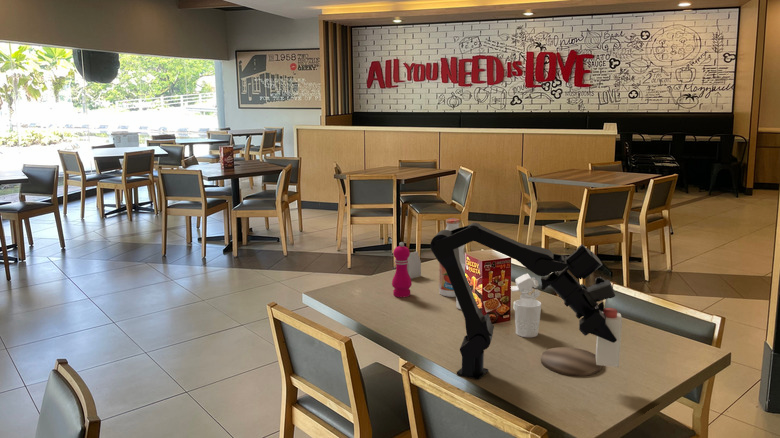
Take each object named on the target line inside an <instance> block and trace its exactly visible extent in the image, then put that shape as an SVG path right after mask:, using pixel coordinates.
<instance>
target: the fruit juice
mask: <svg viewBox="0 0 780 438" xmlns="http://www.w3.org/2000/svg"><path fill="white" fill-rule="evenodd" d="M445 224H446V227H445V229H444V230H449V231H451V230H454V229H457V228H460V219H459V218H454V217H453V218H447V219H445ZM465 247H466V244H465V245H463V246H461V247H459V258H460V263H461V264H466V255H465V252H464V250H465ZM438 263H439V262H438ZM438 265H439V269H438V271H439V273H438V275H439V276H438V278H439V279H438V280H439V281H438V283H439V284H438V287H439V288H438V292H439V294H440V295H441V296H442V297H447V298H449V297H450V298H456V295H455V292H454V290H453V287H452V285H451V282H450V280H449V277H448V275H447V272H446V270H445V268H444V267H443V266H442V265H441V264H440V263H439V264H438Z"/></svg>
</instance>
